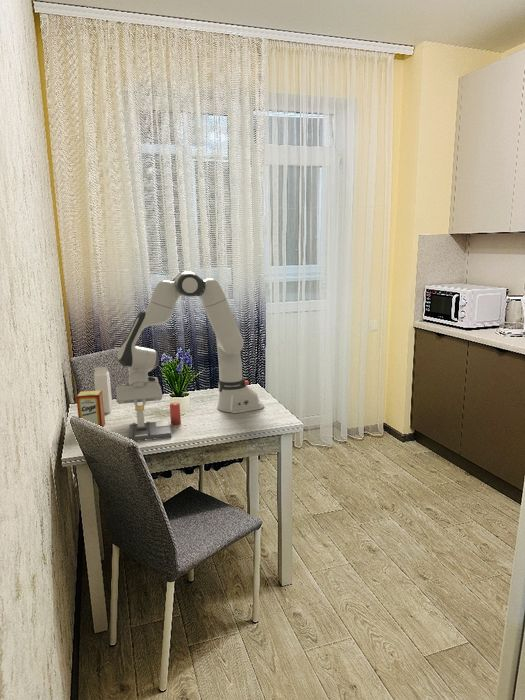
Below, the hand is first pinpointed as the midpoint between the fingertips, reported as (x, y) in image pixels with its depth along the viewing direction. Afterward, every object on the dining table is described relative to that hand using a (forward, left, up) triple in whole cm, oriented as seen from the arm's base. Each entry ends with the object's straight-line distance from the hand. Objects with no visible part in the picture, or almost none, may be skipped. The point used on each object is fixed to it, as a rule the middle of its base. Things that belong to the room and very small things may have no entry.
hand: (140, 409), depth 221 cm
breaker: (0, +11, -4) cm, 12 cm away
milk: (+17, -22, -7) cm, 28 cm away
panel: (-4, +13, -6) cm, 15 cm away
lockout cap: (-15, +4, -6) cm, 17 cm away
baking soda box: (+21, -2, -7) cm, 22 cm away
